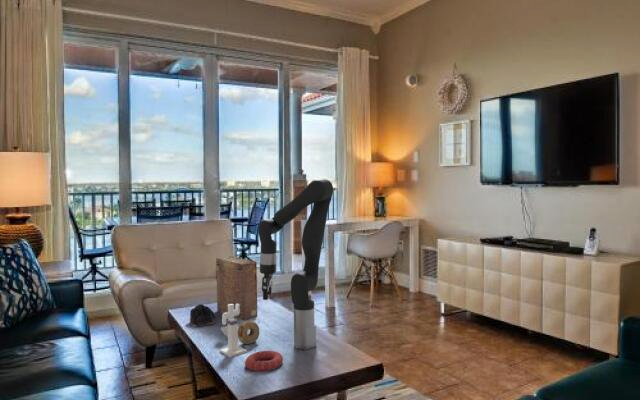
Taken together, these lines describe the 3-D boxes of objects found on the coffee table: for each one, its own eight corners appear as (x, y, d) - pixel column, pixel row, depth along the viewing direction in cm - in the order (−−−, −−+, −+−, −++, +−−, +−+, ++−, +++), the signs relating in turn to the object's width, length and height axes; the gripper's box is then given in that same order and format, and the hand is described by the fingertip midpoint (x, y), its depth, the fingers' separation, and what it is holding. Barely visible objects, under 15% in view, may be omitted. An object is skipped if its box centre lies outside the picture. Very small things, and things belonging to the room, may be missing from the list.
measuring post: (246, 352, 202) (245, 320, 201) (230, 357, 197) (229, 324, 196) (236, 347, 208) (235, 316, 207) (220, 351, 202) (219, 320, 202)
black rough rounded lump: (211, 328, 236) (213, 308, 236) (184, 326, 236) (186, 306, 236) (217, 322, 249) (219, 303, 249) (192, 320, 249) (194, 301, 249)
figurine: (218, 335, 223) (218, 304, 222) (234, 330, 230) (234, 300, 229) (227, 339, 218) (227, 307, 217) (244, 334, 225) (243, 303, 224)
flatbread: (241, 347, 208) (240, 325, 207) (237, 344, 211) (236, 323, 210) (261, 341, 214) (260, 320, 214) (256, 339, 217) (256, 318, 217)
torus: (268, 354, 200) (268, 346, 199) (290, 363, 190) (290, 355, 190) (237, 366, 188) (237, 357, 188) (259, 376, 178) (259, 367, 178)
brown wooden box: (217, 310, 264) (215, 258, 262) (230, 307, 271) (229, 256, 269) (243, 320, 246) (242, 264, 244) (257, 316, 253) (256, 261, 251)
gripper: (273, 266, 207) (272, 302, 208) (278, 259, 221) (277, 293, 222) (256, 265, 207) (255, 301, 209) (263, 259, 222) (262, 292, 223)
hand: (267, 297), depth 215 cm, fingers open, 8 cm apart
